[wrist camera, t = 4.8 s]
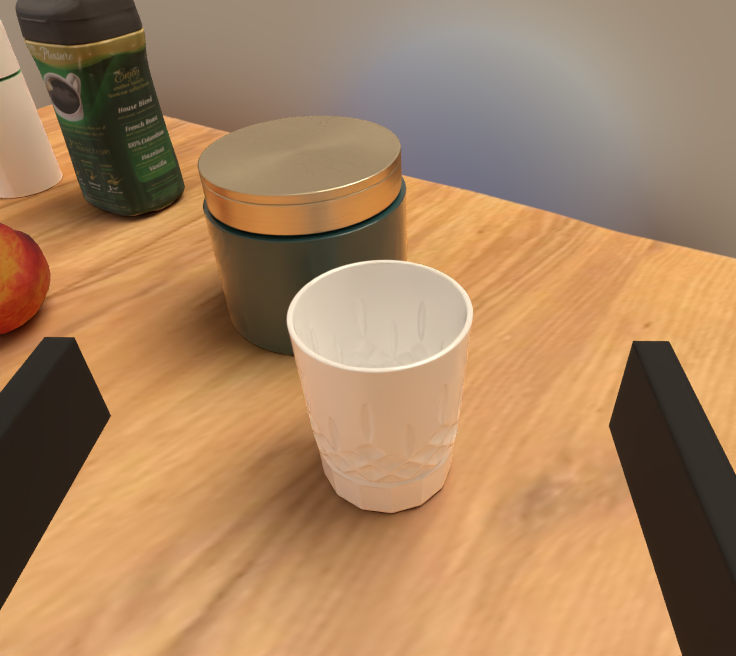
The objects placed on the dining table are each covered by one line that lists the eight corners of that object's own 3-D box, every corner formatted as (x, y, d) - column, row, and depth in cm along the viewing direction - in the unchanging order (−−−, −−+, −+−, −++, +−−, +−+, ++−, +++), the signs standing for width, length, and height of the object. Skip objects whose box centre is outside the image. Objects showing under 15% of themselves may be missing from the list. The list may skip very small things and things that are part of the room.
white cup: (431, 393, 35) (433, 246, 29) (487, 500, 29) (505, 345, 23) (300, 424, 34) (273, 277, 27) (331, 544, 28) (305, 391, 21)
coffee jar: (201, 192, 59) (148, -23, 47) (136, 227, 54) (59, -5, 42) (137, 173, 63) (75, -28, 52) (72, 204, 58) (-13, -12, 47)
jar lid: (177, 184, 39) (167, 148, 38) (333, 136, 45) (330, 103, 43) (263, 260, 31) (255, 217, 30) (442, 191, 37) (443, 151, 35)
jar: (201, 291, 45) (164, 158, 38) (343, 235, 50) (332, 110, 44) (284, 384, 36) (255, 234, 30) (444, 304, 42) (449, 163, 35)
